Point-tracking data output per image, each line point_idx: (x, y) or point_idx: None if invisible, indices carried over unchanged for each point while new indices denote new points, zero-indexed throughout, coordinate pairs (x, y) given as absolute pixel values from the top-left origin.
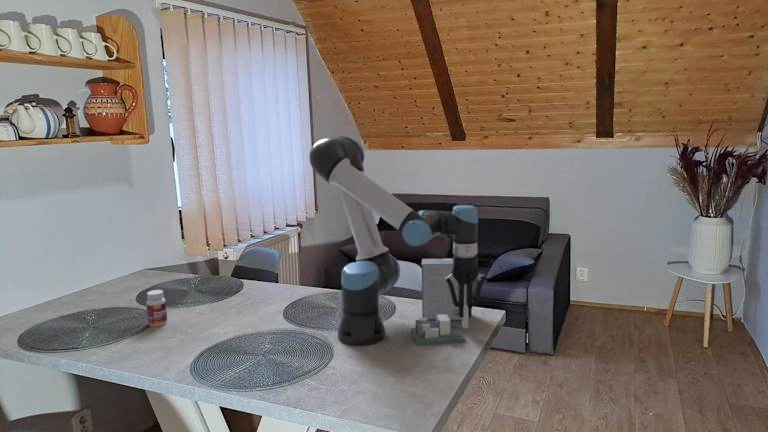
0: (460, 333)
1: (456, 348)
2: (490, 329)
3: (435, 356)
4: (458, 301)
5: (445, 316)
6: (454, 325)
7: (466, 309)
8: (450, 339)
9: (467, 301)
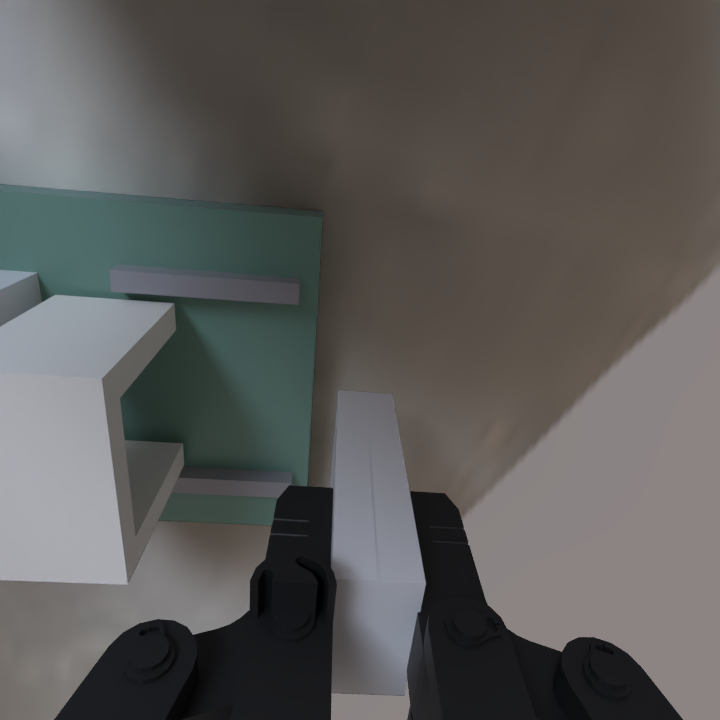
0: (299, 435)
1: (212, 583)
2: (659, 312)
3: (39, 654)
4: (237, 689)
5: (74, 464)
6: (297, 221)
7: (367, 677)
8: (176, 519)
9: (451, 706)
